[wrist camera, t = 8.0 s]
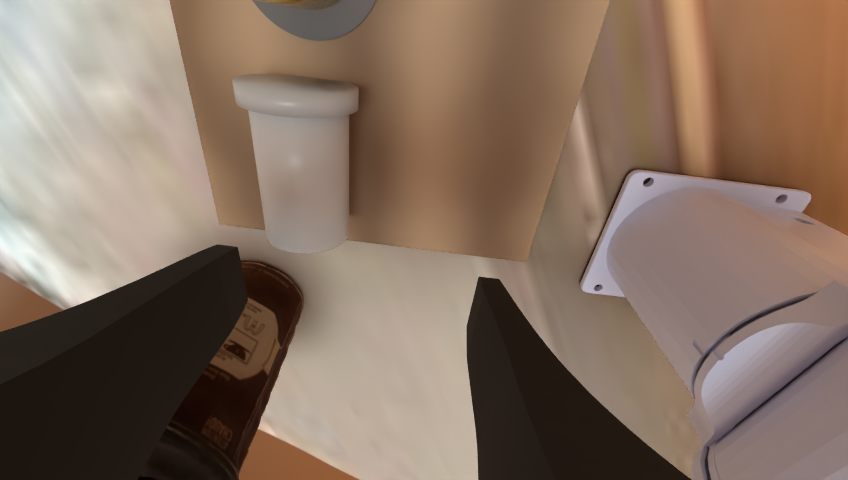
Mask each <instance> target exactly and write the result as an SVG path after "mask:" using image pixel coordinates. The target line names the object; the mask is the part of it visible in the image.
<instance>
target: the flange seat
mask: <svg viewBox="0 0 848 480" xmlns="http://www.w3.org/2000/svg"><path fill="white" fill-rule="evenodd" d="M252 1H253V2H254V3H255V4H256V6H257V7H258V8H259V10H260V11H261V12H262V13H263V14H264V15H265V16H266V17H267V18H268V19H269V20H271V21H272V22H273V23H274V24H275V25H277V26H278V27H280V28H281V29H283V30H284V31H286V32H288V33H290V34H292V35H294V36H297V37H300V38H304V39H308V40H319V41H321V40H331V39H335V38H338V37H341V36H343V35H345V34H348V33H349V32H351V31H352V30H354V29H355V28H356V27H357V26H358V25H360V24H361V23H362V22H363V21H364V19H365V18H366V17H367V16H368V14H369V13H370V11H371V10H372V8H373V6H374V4H375V2H376V0H341V1H339V2H338V3H337V4H335V5H333V6H331V7H328V8H325V9H320V10H309V9H303V8H297V7H291V6H285V5H279V4H273V3H267V2H261V1H255V0H252Z"/></svg>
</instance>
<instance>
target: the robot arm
mask: <svg viewBox="0 0 848 480" xmlns="http://www.w3.org/2000/svg"><path fill="white" fill-rule="evenodd" d="M646 178H650V180H649V182H648V183H646V184H643V181H644V180H645V179H646ZM780 195H781V196H780ZM779 196H780V197H779ZM778 197H779V198H778ZM777 198H778V199H777ZM776 199H777V200H776ZM810 200H811V195H810V193H808V192H805V191H803V190H798V189H790V188H782V187H774V186H766V185H758V184H750V183H742V182H735V181H727V180H719V179H711V178H703V177H695V176H687V175H679V174H671V173H663V172H655V171H647V170H634V171H632V172H631V173H629V174H628V176H627V177H626V179H625V182H624V184H623V186H622V188H621V191H620V193H619V195H618V198H617V200H616V202H615V205H614V207H613V209H612V211H611V214H610V216H609V218H608V221H607V223H606V225H605V227H604V230H603V232H602V234H601V237H600V239H599V241H598V243H597V246H596V248H595V250H594V253H593V255H592V257H591V259H590V262H589V264H588V266H587V269H586V271H585V273H584V276H583V278H582V280H581V282H580V286H581V288H582V290H583V291H584V292H587V293H594V294H602V295H611V296H619V297H626V299H627V300H628V302H629V303H630V305H631V306H632V308H633V309H634V310H635V312H636V313H637V315H638V316H639V318H640V319H641V321H642V322H643V324H644V325H645V327H646V328H647V330H648V331H649V333H650V334H651V336H652V337H653V338H654V340H655V341H656V343H657V344H658V346H659V347H660V349H661V350H662V352H663V353H664V355H665V356H666V358H667V359H668V361H669V362H670V364H671V365H672V367H673V368H674V369H675V371H676V372H677V374H678V375H679V377H680V378H681V380H682V381H683V383H684V384H685V386H686V387H687V389H688V390H689V392H690V393H691V395H692V396H693V397H694V399H695V405H694V407H693V409H692V410H691V411H690V412H689V413H688V415H687V417H688V419H689V421H690V422H691V424H692V425H693V427H694V429H695V430H696V432H697V433H698V435H699V437H700V438H701V440H702V441H703V443H704V444H703V445H702V446H701V447H700V448H698V450H697V452H696V454H695V456H694V458H693V464H692V475H693V480H848V236H847V235H845V234H843V233H841V232H839V231H837V230H835V229H833V228H831V227H829V226H827V225H825V224H823V223H821V222H819V221H817V220H815V219H813V218H811V217H809V216H807V215H805V214H803V213H802V211H803V210H804V209H805V207H806V206H807V205H808V203H809V202H810ZM596 285H599V286H598V287H595V286H596ZM247 301H248V296H247V291H246V286H245V281H244V276H243V271H242V266H241V261H240V256H239V251H238V247H232V246H224V245H215V246H212V247H210V248H207V249H205V250H202V251H200V252H198V253H196V254H193V255H191V256H189V257H187V258H185V259H182V260H180V261H178V262H176V263H174V264H172V265H169V266H167V267H165V268H163V269H161V270H159V271H156V272H154V273H152V274H150V275H148V276H146V277H143V278H141V279H139V280H137V281H134V282H132V283H130V284H127V285H125V286H123V287H120V288H118V289H116V290H113V291H111V292H109V293H106V294H104V295H101V296H99V297H97V298H94V299H92V300H90V301H87V302H85V303H82V304H80V305H77V306H74V307H72V308H69V309H66V310H64V311H62V312H58V313H55V314H53V315H50V316H47V317H44V318H41V319H39V320H36V321H33V322H30V323H27V324H24V325H21V326H18V327H15V328H12V329H8V330H5V331H2V332H0V480H138V478H139V476H140V474H141V472H142V470H143V469H144V467H145V465H146V463H147V461H148V459H149V457H150V456H151V454H152V452H153V450H154V448H155V447H156V445H157V443H158V441H159V440H160V438H161V436H162V434H163V433H164V431H165V429H166V427H167V426H168V424H169V422H170V421H171V419H172V417H173V415H174V414H175V412H176V411H177V409H178V407H179V406H180V404H181V403H182V401H183V400H184V398H185V397H186V395H187V394H188V393H189V391H190V390H191V388H192V387H193V386H194V384H195V383H196V381H197V380H198V379H199V377H200V376H201V374H202V373H203V372H204V370H205V369H206V367H207V366H208V365H209V363H210V362H211V360H212V359H213V358H214V356H215V355H216V353H217V352H218V350H219V349H220V348H221V346H222V345H223V343H224V342H225V340H226V339H227V338H228V336H229V335H230V333H231V332H232V330H233V329H234V327H235V325H236V323H237V321H238V319H239V318H240V316H241V314H242V312H243V310H244V308H245V306H246V304H247ZM467 363H468V371H469V379H470V387H471V395H472V403H473V411H474V419H475V427H476V437H477V449H478V479H479V480H691V479H690V478H688V477H687V476H686V475H684V474H683V473H682V472H680V471H679V470H678V469H677V468H675V467H674V466H673V465H672V464H670V463H669V462H668V461H667V460H665V459H664V458H663V457H662V456H660V455H659V454H658V453H657V452H656V451H654V450H653V449H652V448H651V447H649V446H648V445H647V444H646V443H645V442H643V441H642V440H641V439H640V438H639V437H637V436H636V435H635V434H634V433H633V432H632V431H630V430H629V429H628V428H627V427H626V426H625V425H624V424H623V423H621V422H620V421H619V420H618V419H617V418H616V417H615V416H614V415H613V414H612V413H610V412H609V411H608V410H607V409H606V408H605V407H604V406H603V405H602V404H601V403H600V402H599V401H598V400H596V399H595V398H594V397H593V396H592V395H591V394H590V393H589V392H588V391H587V390H586V389H585V388H584V387H583V386H582V384H581V383H580V382H579V381H578V380H577V379H576V378H575V377H574V376H573V375H572V374H571V373H570V372H569V371H568V370H567V369H566V368H565V367H564V365H563V364H562V363H561V362H560V361H559V360H558V359H557V357H556V356H555V355H554V354H553V353H552V351H551V350H550V349H549V348H548V347H547V345H546V344H545V343H544V342H543V340H542V339H541V338H540V337H539V335H538V334H537V333H536V331H535V330H534V329H533V327H532V326H531V325H530V323H529V322H528V320H527V319H526V318H525V316H524V315H523V313H522V312H521V311H520V309H519V308H518V306H517V305H516V303H515V302H514V300H513V299H512V297H511V296H510V294H509V293H508V291H507V290H506V288H505V287H504V285H503V284H502V283H501V281H500V280H499V279H493V278H485V277H479V278H478V282H477V286H476V290H475V294H474V299H473V303H472V307H471V311H470V315H469V319H468V323H467Z"/></svg>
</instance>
